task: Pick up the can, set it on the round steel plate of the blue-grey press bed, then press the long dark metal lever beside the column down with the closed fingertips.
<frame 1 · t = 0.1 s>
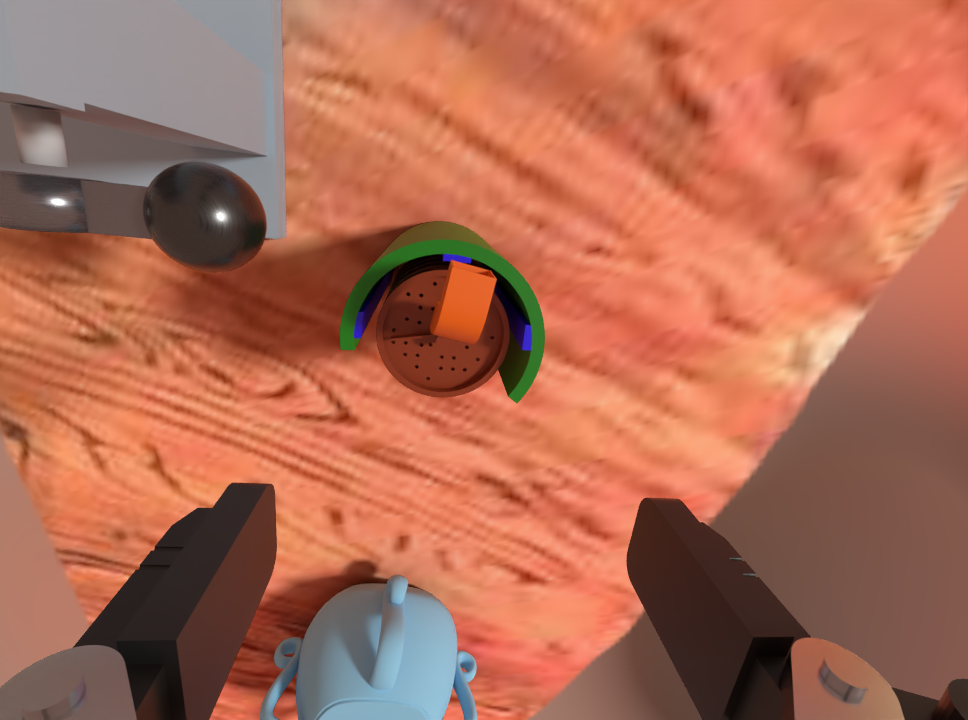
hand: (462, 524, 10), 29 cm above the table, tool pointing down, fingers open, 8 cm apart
motor: (441, 278, 37), on the table
press: (130, 100, 31), on the table
decorative pot: (383, 623, 49), on the table
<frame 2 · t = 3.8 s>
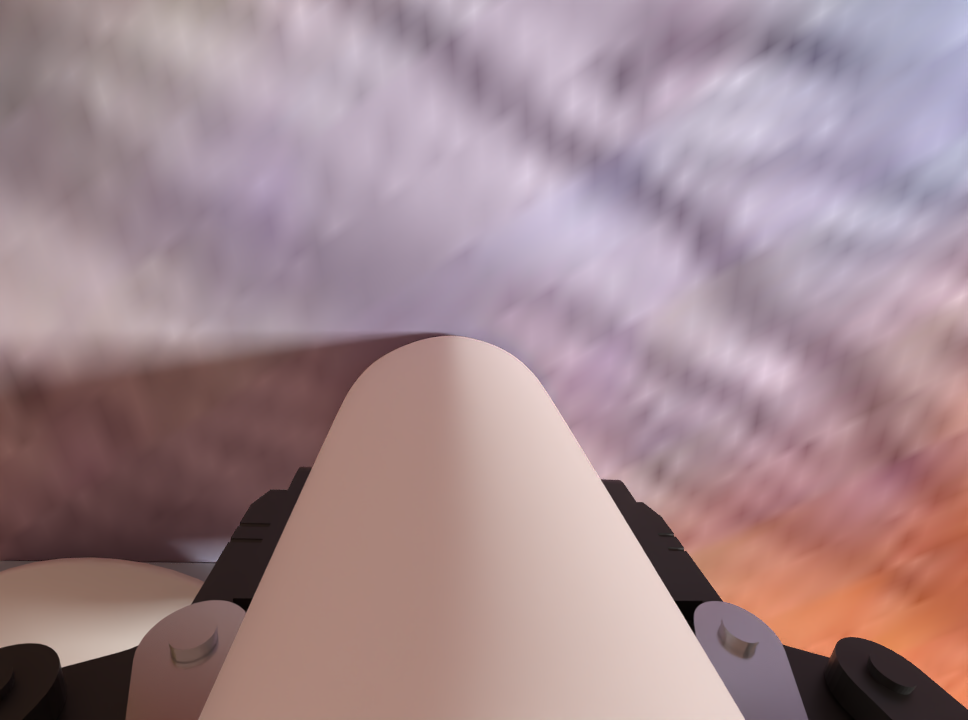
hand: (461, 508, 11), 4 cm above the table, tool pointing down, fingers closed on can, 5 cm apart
can: (447, 430, 14), on the table, touching gripper
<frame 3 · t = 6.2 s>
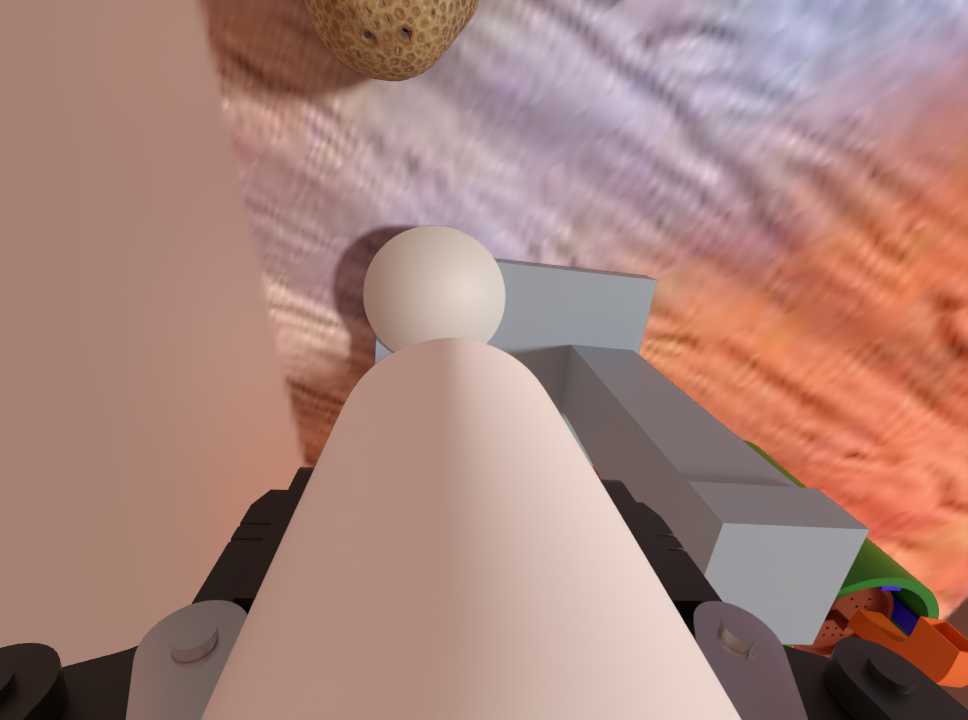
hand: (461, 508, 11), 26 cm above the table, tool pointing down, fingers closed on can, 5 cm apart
motor: (718, 478, 43), on the table
can: (448, 432, 14), point 22 cm above the table, touching gripper
press: (504, 361, 37), on the table
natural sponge: (395, 16, 28), on the table
when the fingers open (7 cm above the table, at t = 8.8 s): can stays where it is, resting on press.
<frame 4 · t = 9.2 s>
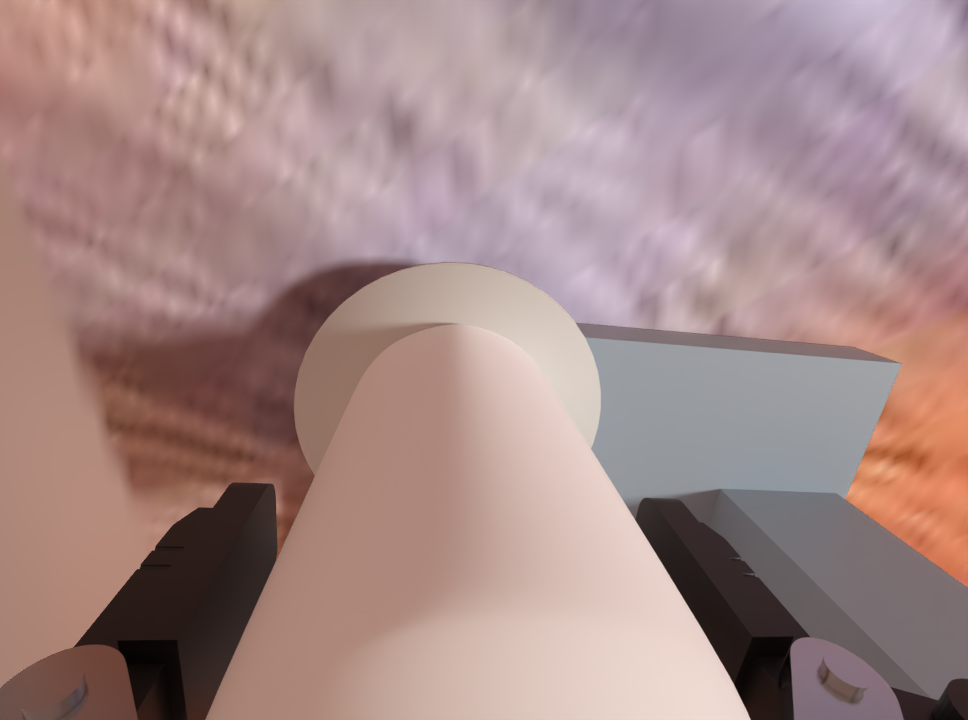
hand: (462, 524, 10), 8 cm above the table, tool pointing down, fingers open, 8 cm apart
can: (453, 414, 15), point 2 cm above the table, touching press
press: (580, 507, 19), on the table
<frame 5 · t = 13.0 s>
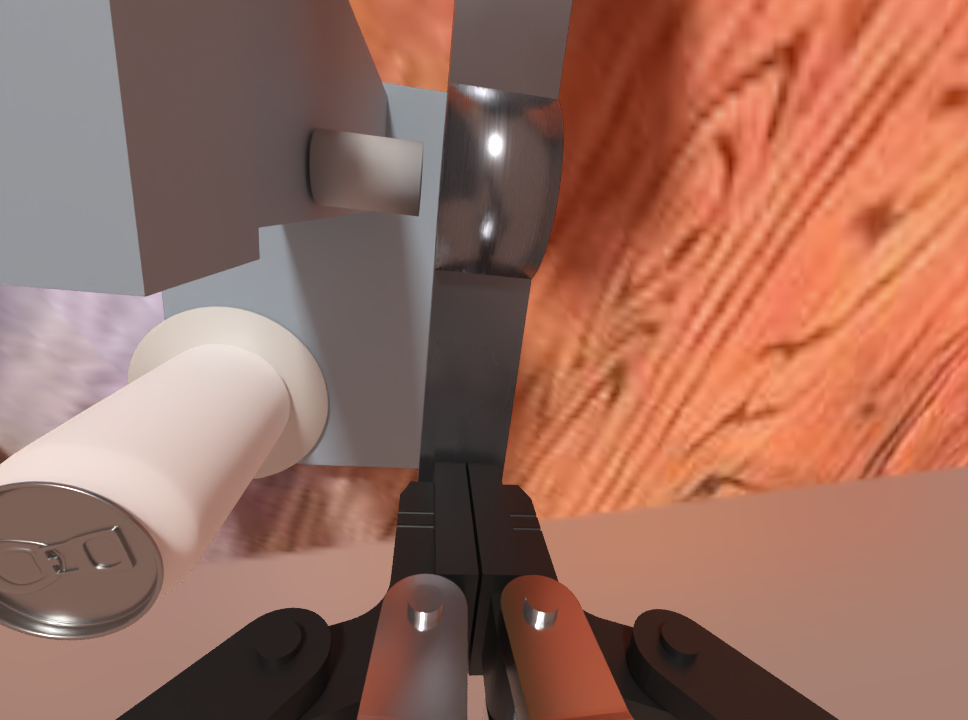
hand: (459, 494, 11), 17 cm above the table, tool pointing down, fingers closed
lever: (475, 310, 10), point 16 cm above the table, hinge at 0.6°, touching gripper
can: (230, 397, 25), point 2 cm above the table, touching press
press: (336, 289, 25), on the table
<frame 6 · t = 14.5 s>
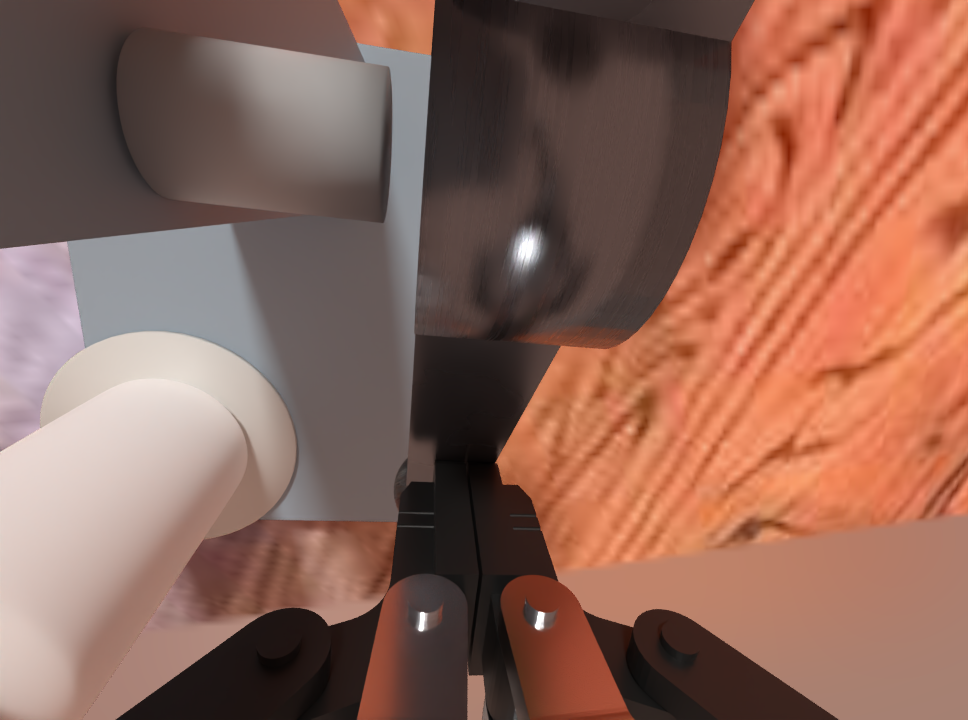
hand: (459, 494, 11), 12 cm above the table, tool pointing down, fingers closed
lever: (484, 316, 7), point 14 cm above the table, hinge at 40.1°, touching gripper
can: (174, 442, 20), point 2 cm above the table, touching press
press: (307, 306, 21), on the table
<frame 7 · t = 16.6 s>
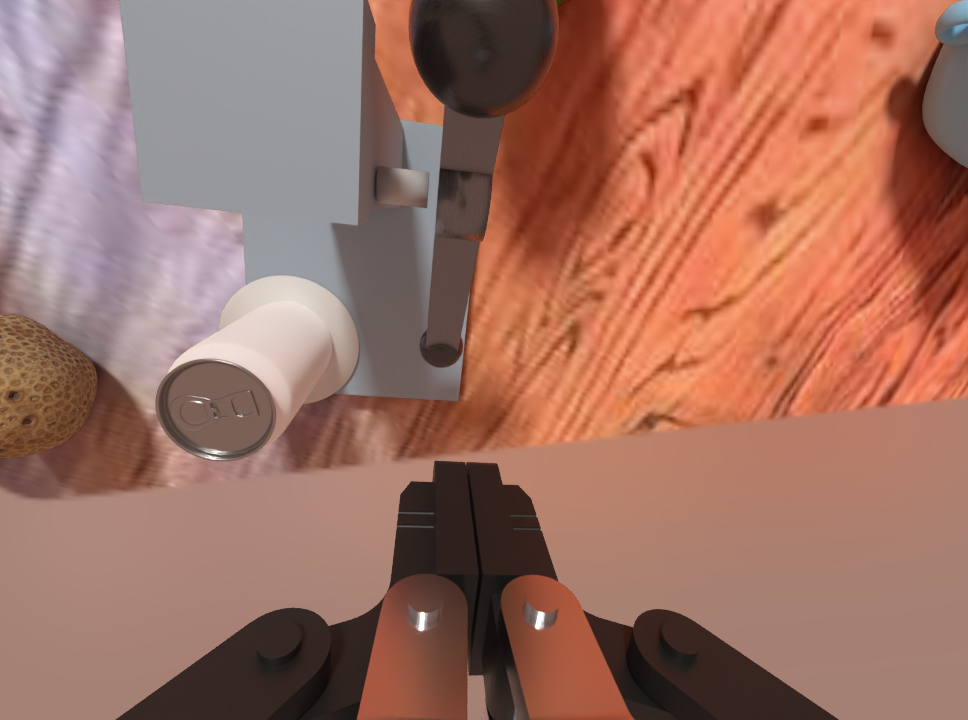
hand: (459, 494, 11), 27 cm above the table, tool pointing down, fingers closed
lever: (455, 239, 21), point 14 cm above the table, hinge at 41.2°
can: (289, 342, 34), point 2 cm above the table, touching press
press: (365, 264, 35), on the table
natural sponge: (71, 366, 35), on the table
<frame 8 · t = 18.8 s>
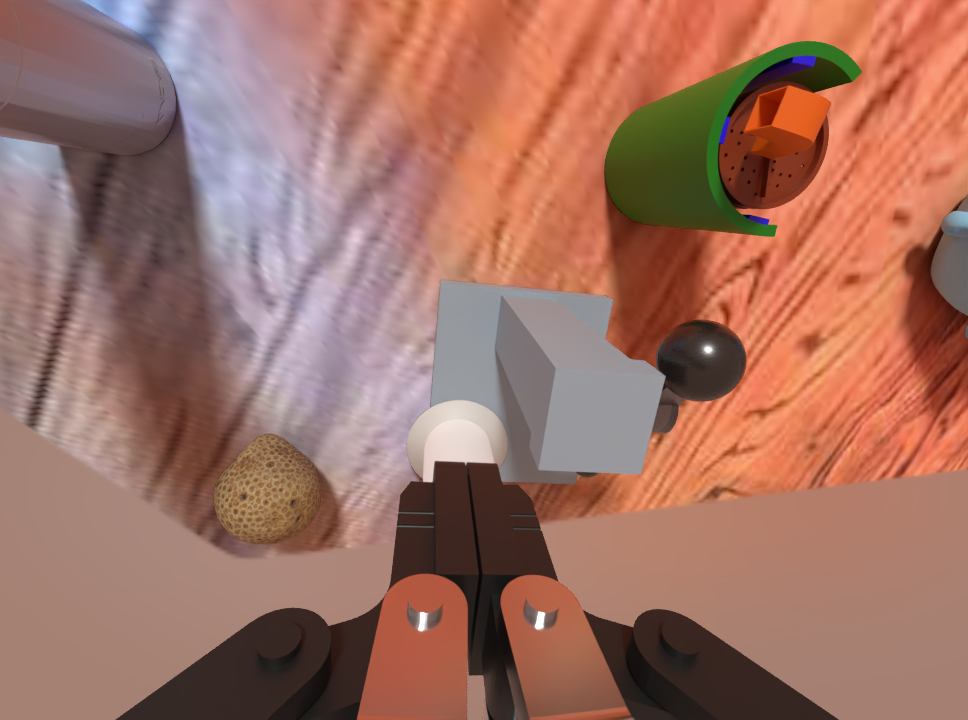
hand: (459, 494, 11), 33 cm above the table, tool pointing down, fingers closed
motor: (652, 165, 41), on the table
lever: (632, 420, 32), point 14 cm above the table, hinge at 41.2°
can: (457, 445, 45), point 2 cm above the table, touching press
press: (511, 385, 46), on the table
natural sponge: (287, 461, 47), on the table
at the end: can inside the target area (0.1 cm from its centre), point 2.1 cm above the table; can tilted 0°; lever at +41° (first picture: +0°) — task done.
